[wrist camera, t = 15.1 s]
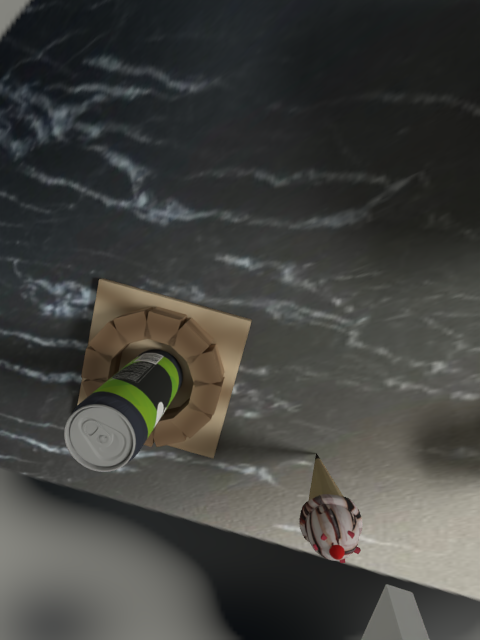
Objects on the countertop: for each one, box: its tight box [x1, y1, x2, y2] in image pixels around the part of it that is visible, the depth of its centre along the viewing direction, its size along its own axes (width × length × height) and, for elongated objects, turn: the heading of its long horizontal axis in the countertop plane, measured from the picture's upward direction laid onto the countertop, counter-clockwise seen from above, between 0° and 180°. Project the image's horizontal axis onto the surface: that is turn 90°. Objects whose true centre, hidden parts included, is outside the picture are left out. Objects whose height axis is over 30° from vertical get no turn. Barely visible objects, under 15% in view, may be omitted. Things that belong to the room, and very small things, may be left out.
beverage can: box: [64, 349, 183, 472], centre depth 35 cm, size 6×6×15 cm
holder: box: [77, 279, 252, 458], centre depth 41 cm, size 18×18×4 cm
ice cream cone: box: [300, 454, 362, 563], centre depth 36 cm, size 6×6×15 cm
